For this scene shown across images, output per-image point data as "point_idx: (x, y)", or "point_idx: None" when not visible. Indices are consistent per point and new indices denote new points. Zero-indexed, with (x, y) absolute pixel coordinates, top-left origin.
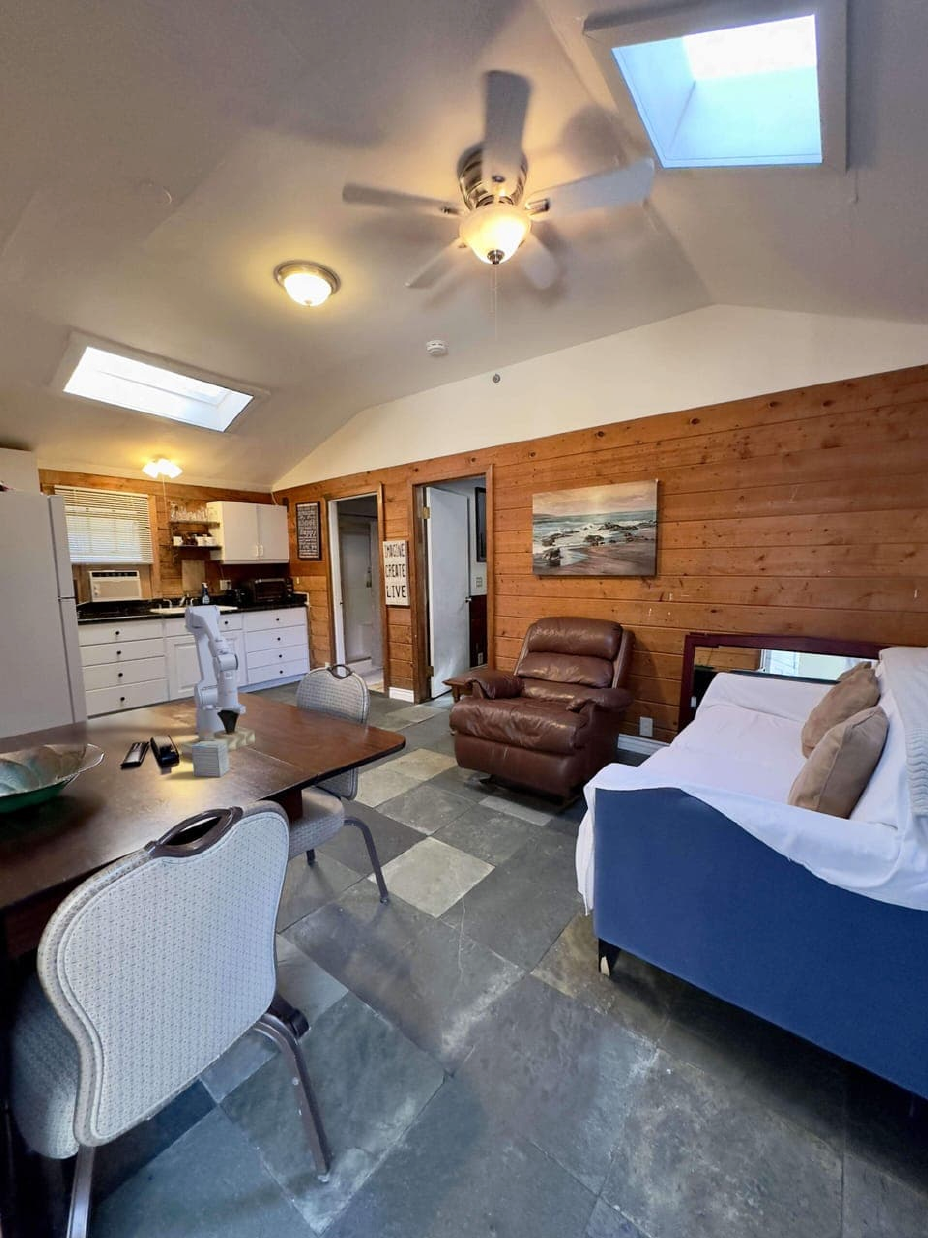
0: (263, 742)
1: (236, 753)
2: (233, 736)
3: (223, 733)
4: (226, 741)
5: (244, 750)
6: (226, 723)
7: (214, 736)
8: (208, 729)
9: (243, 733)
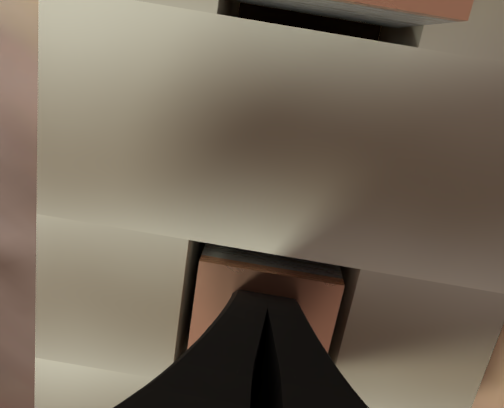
0: (21, 383)
1: (3, 83)
2: (86, 231)
3: (336, 279)
4: (45, 67)
5: (2, 177)
6: (201, 371)
7: (375, 139)
8: (426, 14)
9: (64, 357)
